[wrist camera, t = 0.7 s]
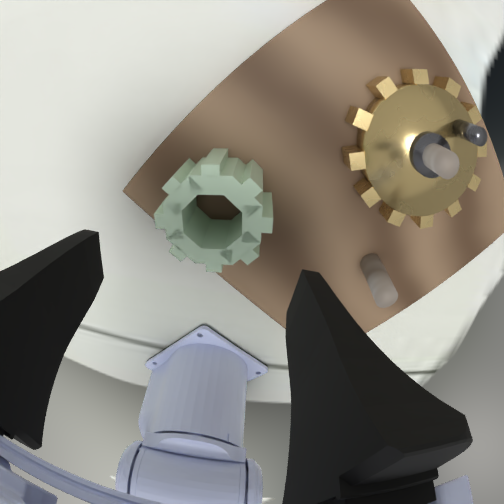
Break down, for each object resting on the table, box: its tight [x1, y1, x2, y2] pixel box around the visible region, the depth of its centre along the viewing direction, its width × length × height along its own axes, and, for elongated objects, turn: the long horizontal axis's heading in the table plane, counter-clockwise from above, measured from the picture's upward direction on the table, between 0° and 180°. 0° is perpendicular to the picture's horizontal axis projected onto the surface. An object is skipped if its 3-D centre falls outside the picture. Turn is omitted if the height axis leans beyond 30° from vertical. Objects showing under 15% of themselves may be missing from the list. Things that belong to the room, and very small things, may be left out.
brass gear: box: [342, 69, 487, 229], centre depth 12 cm, size 9×9×4 cm
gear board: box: [123, 0, 504, 333], centre depth 15 cm, size 20×20×5 cm
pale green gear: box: [154, 148, 273, 273], centre depth 15 cm, size 6×6×3 cm
